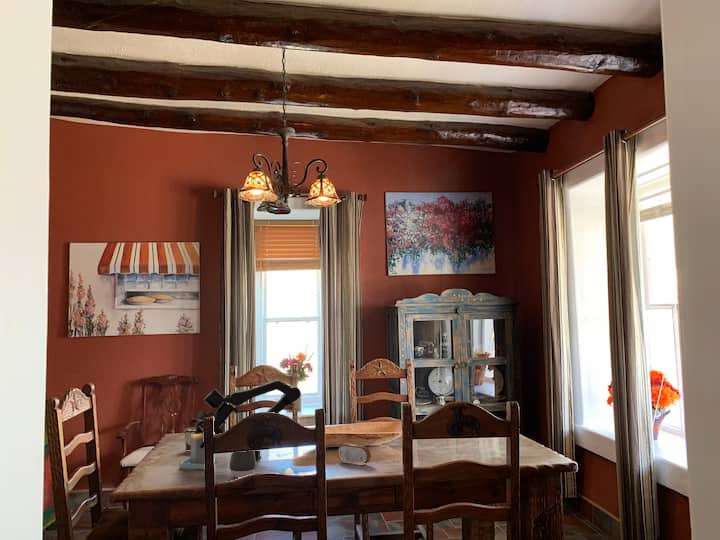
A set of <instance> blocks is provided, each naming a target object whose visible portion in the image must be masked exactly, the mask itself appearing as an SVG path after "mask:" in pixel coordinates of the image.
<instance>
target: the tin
mask: <svg viewBox="0 0 720 540" xmlns="http://www.w3.org/2000/svg"><path fill="white" fill-rule="evenodd" d="M336 453H337V458H338V460H339V461H340V460H341V461H352V462H364V463H367V462H368V463H369V462H370V460H371V458H372V457H371V456H372V455H371V451H370V449H369V448H368V447H367V446H366V445H365V444H358V443H351V442H344V443H342V444H341V445H339V447H338V448H337V452H336ZM341 461H340V462H341ZM368 463H367V464H368Z"/></svg>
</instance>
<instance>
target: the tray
mask: <svg viewBox="0 0 720 540" xmlns="http://www.w3.org/2000/svg"><path fill="white" fill-rule="evenodd" d="M214 457H215V464H216V463H217V457H216V456H214ZM182 468H183V469H182ZM193 469H204V464H193V463H190V457H188V458H186V459H184V460H182V461H181V462H179V470H193Z"/></svg>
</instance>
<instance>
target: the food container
mask: <svg viewBox="0 0 720 540" xmlns="http://www.w3.org/2000/svg"><path fill="white" fill-rule="evenodd" d="M195 431H196V427H195V426H193V427H187V428H184V430H183V434H184V439H185V441H184V444H185V451H186V450H191V435H192V434H195Z"/></svg>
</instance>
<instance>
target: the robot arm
mask: <svg viewBox="0 0 720 540" xmlns="http://www.w3.org/2000/svg"><path fill="white" fill-rule="evenodd" d="M276 390H277V391H278V392H281V393H283V394H282V395H281V397H280V398H279V400H278V401H276V402H275V403H274V404H273V405H272V406H271V407H270V408H269V409H268V410H267V411H266V412H275V413H278V414H279V413H280V412H281V411H282V410H283V409H285V408H286V407H287V406H290V404H293V403H295V402H296V401H297V400H299V399H300V397H301V395H302V393H301V390H300V389H299V388H298V386H296V385H289V384H286V383H285V382H283V381H281V380H279V379H274V380H272V381H270V382H267V383H263V384H261V385H258V386H255V387H252V388H249V389H247V388H246V389H240V390H234V391H232V392H231V393H229V394H227V395H222V394H221V393H220V392H219V391H218V389H216V388H213V390H212V391H211V392H210V393H208V394H207V395H206V397H205V398H204V399H203V402H204V403H205V404H207V405H208V406H209V407H210V408H212V409H217V410H216V411H215V412H211V411H207V412H205V411H202V410H199V412H198V414H197V416H196V419H197V420H196V421H195V422H194V427H196V431H195V434H199V433H203V421H204V420H203V418H204V417H210V416H214V417H215V421H214V432H215V434H219V433H223V432H225V431H224V430H223V429H222V428H221V426H223V425H226V424H227V422H226V420H228V419H229V417H230V416H231V415H232V413H233V414H234V415H236V414H238V413H239V412H238V406H240V405H243V404H244V403H246V402H247V401H249V400H251V399H252V398H257V397H258V396H262V395H264V394H268V393H270V392H273V391H276ZM200 448H204V442H202V444H201V445H200ZM254 452H255V458H256V462H258V461H259V460H260V459H261V458H262V456H261V450H260V451H254Z"/></svg>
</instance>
